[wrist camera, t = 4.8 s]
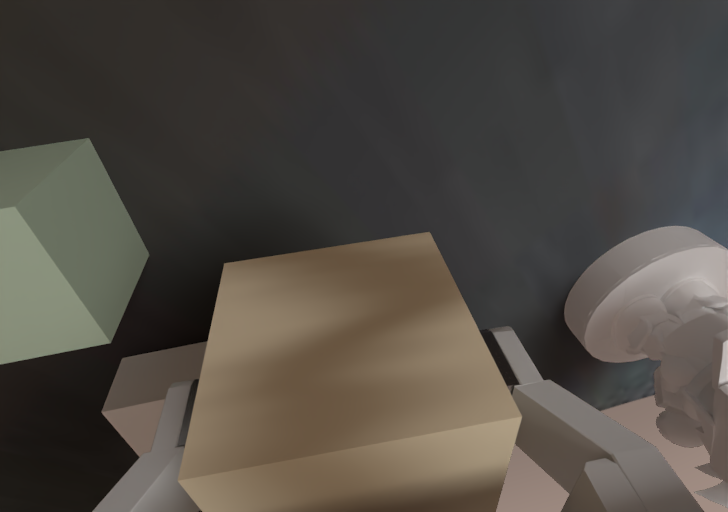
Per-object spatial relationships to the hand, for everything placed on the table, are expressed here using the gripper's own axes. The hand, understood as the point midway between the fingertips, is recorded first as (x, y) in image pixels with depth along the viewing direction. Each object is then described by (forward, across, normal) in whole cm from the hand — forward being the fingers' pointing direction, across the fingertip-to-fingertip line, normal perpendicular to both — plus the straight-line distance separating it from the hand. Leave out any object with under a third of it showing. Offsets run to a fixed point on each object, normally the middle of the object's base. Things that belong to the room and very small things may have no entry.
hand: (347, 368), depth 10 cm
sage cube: (+8, +10, -1) cm, 13 cm away
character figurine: (+9, -17, +8) cm, 21 cm away
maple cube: (+2, 0, 0) cm, 2 cm away
